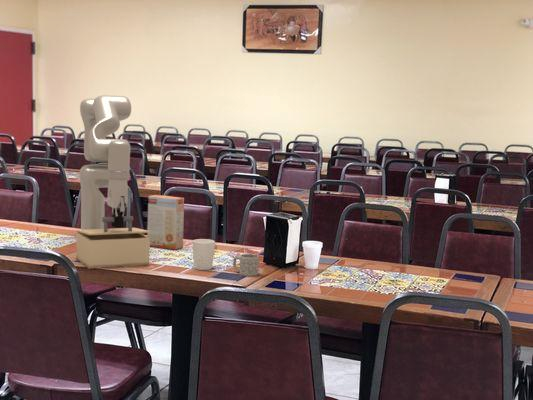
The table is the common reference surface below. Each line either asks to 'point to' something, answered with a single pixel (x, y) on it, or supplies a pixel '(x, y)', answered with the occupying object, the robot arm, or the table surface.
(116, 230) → the carton lid
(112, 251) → the carton
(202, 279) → the table surface
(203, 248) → the white cup
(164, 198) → the cracker box
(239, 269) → the mug
